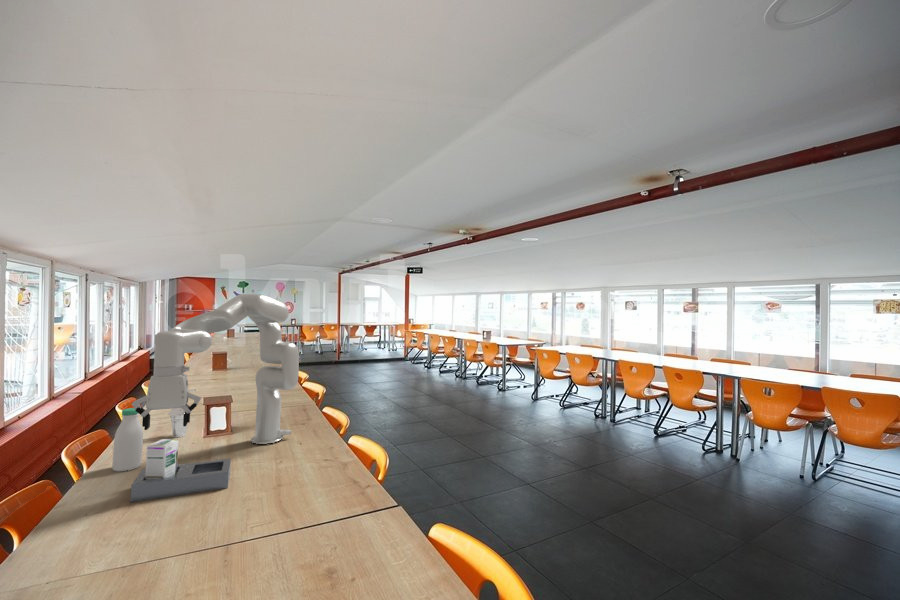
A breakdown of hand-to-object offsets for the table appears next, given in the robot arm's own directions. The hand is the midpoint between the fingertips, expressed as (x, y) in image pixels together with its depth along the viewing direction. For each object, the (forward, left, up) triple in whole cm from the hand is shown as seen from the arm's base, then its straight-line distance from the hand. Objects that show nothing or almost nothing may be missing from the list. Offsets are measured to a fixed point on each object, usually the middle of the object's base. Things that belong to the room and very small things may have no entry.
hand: (166, 426), depth 118 cm
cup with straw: (+4, -57, -19) cm, 60 cm away
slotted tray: (-6, 0, -19) cm, 20 cm away
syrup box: (+1, 0, -19) cm, 19 cm away
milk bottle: (+14, -24, -19) cm, 34 cm away
